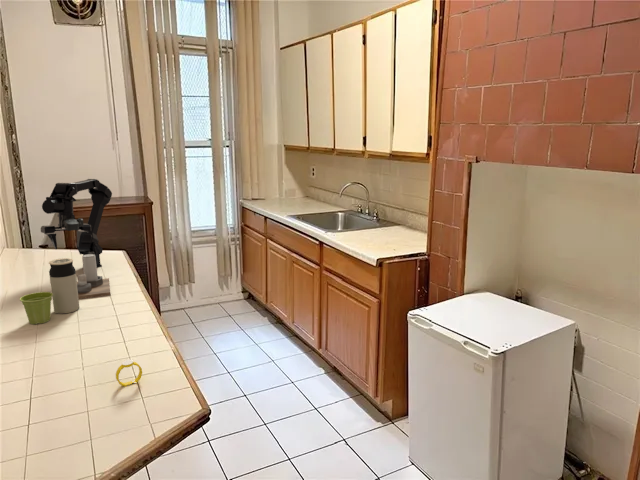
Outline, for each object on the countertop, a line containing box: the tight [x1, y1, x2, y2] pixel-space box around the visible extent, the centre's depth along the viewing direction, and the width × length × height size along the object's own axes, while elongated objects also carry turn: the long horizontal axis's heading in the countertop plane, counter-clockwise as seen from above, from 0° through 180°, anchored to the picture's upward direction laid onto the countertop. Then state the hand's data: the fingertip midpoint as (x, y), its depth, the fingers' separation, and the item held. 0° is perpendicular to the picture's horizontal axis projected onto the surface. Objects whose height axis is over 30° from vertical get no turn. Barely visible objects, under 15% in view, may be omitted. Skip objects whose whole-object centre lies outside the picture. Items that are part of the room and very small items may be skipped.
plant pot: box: [19, 291, 53, 325], centre depth 156 cm, size 9×9×9 cm
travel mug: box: [48, 257, 80, 315], centre depth 165 cm, size 8×8×18 cm
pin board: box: [76, 273, 112, 300], centre depth 187 cm, size 20×16×8 cm
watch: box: [115, 359, 143, 387], centre depth 117 cm, size 6×3×6 cm, turn 126°
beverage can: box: [81, 254, 99, 281], centre depth 191 cm, size 5×5×12 cm
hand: (67, 248), depth 205 cm, fingers open, 9 cm apart
